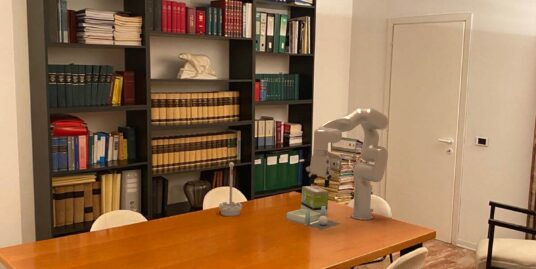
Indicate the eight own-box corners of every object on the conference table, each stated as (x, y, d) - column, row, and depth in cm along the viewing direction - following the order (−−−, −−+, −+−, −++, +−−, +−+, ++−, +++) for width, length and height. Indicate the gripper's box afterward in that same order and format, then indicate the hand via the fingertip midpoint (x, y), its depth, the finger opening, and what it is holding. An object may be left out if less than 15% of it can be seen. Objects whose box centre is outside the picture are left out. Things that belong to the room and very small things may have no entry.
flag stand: (217, 211, 306) (217, 160, 302) (238, 210, 310) (239, 160, 306) (221, 217, 293) (222, 164, 290) (244, 215, 297) (245, 163, 294)
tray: (301, 214, 302) (302, 208, 302) (320, 219, 293) (320, 213, 293) (286, 218, 292) (286, 212, 292) (305, 223, 283) (305, 217, 283)
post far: (322, 219, 294) (323, 205, 293) (326, 220, 292) (326, 206, 291) (320, 220, 292) (320, 206, 291) (323, 221, 290) (324, 207, 289)
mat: (302, 214, 304) (302, 213, 304) (340, 224, 286) (340, 223, 286) (283, 219, 292) (283, 218, 292) (321, 230, 273) (321, 229, 273)
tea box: (300, 210, 311) (301, 185, 310) (314, 209, 316) (316, 185, 314) (312, 216, 298) (314, 191, 296) (327, 215, 302) (329, 190, 301)
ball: (322, 223, 286) (322, 214, 285) (329, 225, 282) (329, 216, 282) (316, 224, 282) (316, 215, 281) (323, 226, 279) (324, 217, 278)
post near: (307, 224, 284) (307, 209, 283) (310, 225, 282) (311, 210, 281) (304, 225, 282) (304, 210, 281) (307, 226, 280) (308, 211, 279)
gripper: (338, 154, 267) (336, 187, 269) (311, 150, 278) (310, 181, 280) (329, 155, 261) (328, 189, 263) (302, 151, 273) (301, 183, 275)
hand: (319, 185), depth 272 cm, fingers open, 9 cm apart
